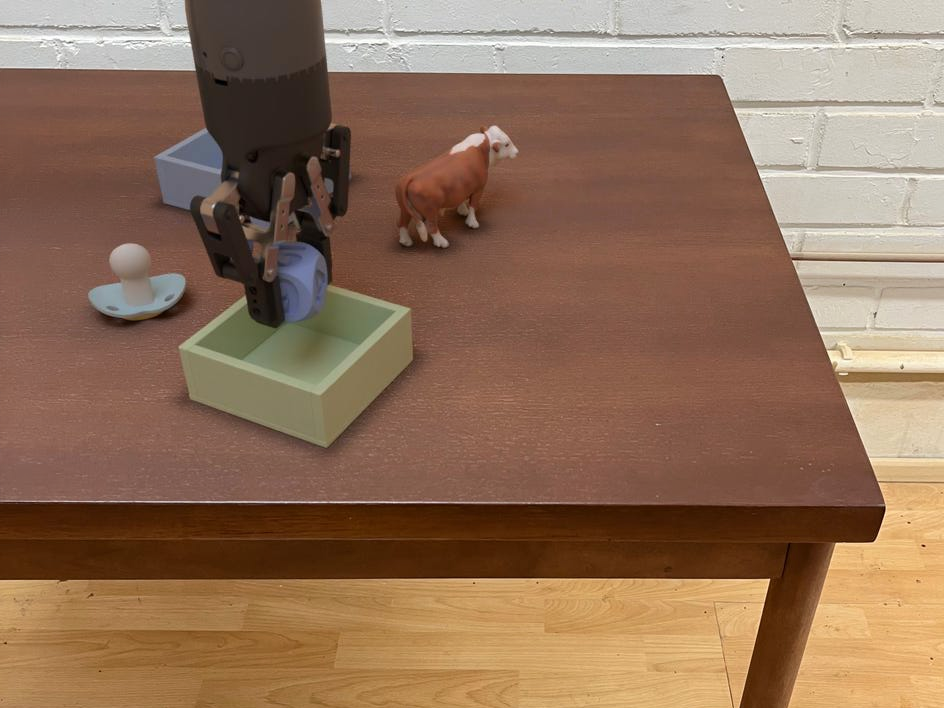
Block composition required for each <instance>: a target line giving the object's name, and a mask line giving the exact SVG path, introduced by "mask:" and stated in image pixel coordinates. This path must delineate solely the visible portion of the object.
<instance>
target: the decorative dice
mask: <svg viewBox="0 0 944 708" xmlns="http://www.w3.org/2000/svg"><path fill="white" fill-rule="evenodd" d="M256 258H258V259H261V251H260V252H259V254H258V255H257V256H256ZM276 276H279V280H280V287H281V294H282V302H283V309H284V316H285V322H301V321H305V320H308V319H311V318H313V317H315V316H316V315H317V314H319V313H320V312H321V311H322V309H323V307H324V304H325V300H326V294H327V266H326V261H325V259H324V257H323V256H322V254H321V253H320V252H319V251H318V250H316V249H315V248H314V247H312V246H311V245H309V244H306V243H302V242H297V241H296V240H295V241H294V240H290V241H288V240H286V242H285V243H284V244H282V245H280V246H279V252H278V263H277V273H276Z"/></svg>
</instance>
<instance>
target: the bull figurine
mask: <svg viewBox="0 0 944 708" xmlns="http://www.w3.org/2000/svg"><path fill="white" fill-rule="evenodd" d="M479 130H480V133H478V132H477V133H472V134H470V135H468V136H467V137H466V138H465V139H464V140H462V141H461V142H459V143H457V144H455V145H453V146H451V147H450V148H449V149H447V151H445V152H444V153H443V154H441V155H440V156H438V157H435V158H434V159H432V160H430V161H428V162H427V163H425V164H424V163H423V164H422V165H419V166H418V167H415V168H414V169H412V170H411V171H409V172H407V173H405V174H404V175H402V176H401V177H400V179H399V180H398V181H397V183H396V185H395V191H394V192H395V199H396V202H397V205H398V207H399V209H400V215H399V218H398V219H397V221H396V226H397V229H398V231H399V243H400V244H402V246H405V247H411V246H413V245H414V242H413V240H412V238H411V237H410V235H409V226H410V223H411V220H412V219H413V220H414V222H415V228H416V231H417V233H418V235H419V238H420V240H421V241H423V242H424V243H425V242H427V241H428V234H429V235H430V237H431V238H432V240H433V242H432V244H433V246H436V247H437V248H440V247H441V248H443V249H444V248H448V247H449V246H450V243H449V241H448V240H447V239H446V238H445V237H444V236H442V234H441V233H440V230H439V227H438V218H439V217H443V216H444V215H445V211H446V210H453V209H456V208H457V214H459V215H460V216H464V217H466V216H467V217H466V219H465V225H467V226H468V227H469V228H472V229H473V230H474V229H478V228H480V224H479V222H478V221H477V218H476V212H477V210H478V209H479V206H480V200H481V198H482V196H483V194H484V191H485V187H486V185H487V182H488V178H489V173H490V170H491V169H492V167H496V166H498V165H500V164H501V163H502V162H503V161H504V160H505V159H510V160H515V159H517V158H518V154H519V149H518V148H517V147H516V146H515V145H514V143H513V142H512V140H511V139H510V137H509V136H508V134H506V133H505V132H504V131H503V130H501V128H499V127H498V126H497V125H492V126H491V125H490V127H488V126H487V125H481V126H480V128H479ZM467 200H468V204H466V201H467ZM467 205H468V206H467Z"/></svg>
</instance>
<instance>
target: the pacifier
mask: <svg viewBox="0 0 944 708" xmlns="http://www.w3.org/2000/svg"><path fill="white" fill-rule="evenodd" d="M108 262H109V267H110V268H111V270H112V272H113V273H114V274H115V275H117V277H119V280H120V282H116V283H115V282H114V283H110V284H104V285H99V286H96V287H94V288H92V289H91V290H89V292H88V294H87V297H88V300H89V303H90V304H91V306H92V307H94V308H95V309H96V310H97V311H99V312H100V313H102V314H105V315H107V316H110V317H114V318H120V319H121V318H122V319H123V320H127V321H142V320H147V319H148V320H149V319H151V318H154V317H157V316H159V315H161V314H162V313H163V312H164V311H166V310H168V309H170V308H172V307H174V305H176V304H177V303H178V302H179V301H180V299H182V297H183V295H184V293H185V291H186V288H187V282H186V278H185V276H184V275H182V274H181V273H174V272H171V273H165V274H164V273H163V274H160V275H154V276H150V275H149V270H150V268H151V265H152V258H151V255H150V253H149V251H148V249H146V247H144V246H142V245H141V244H137V243H132V242H131V243H130V242H129V243H124V244H121V245H119V246H117V247H116V248H114V249H113V250H112V252H111V253H110V255H109V259H108Z"/></svg>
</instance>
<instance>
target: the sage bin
mask: <svg viewBox="0 0 944 708" xmlns="http://www.w3.org/2000/svg"><path fill="white" fill-rule="evenodd" d="M412 324H413V323H412V307H411V308H410V307H407V306H404V305H401V304H396V303H393V302H390V301H387V300H384V299H379V298H376V297H373V296H369V295H366V294H363V293H359V292H356V291H352V290H350V289H346V288H342V287H338V286H335V285H332V284H329V285H328V286H327V294H326V300H325V304H324V307H323V309H322V311H321V312H320V313H319V314H317V315H316V316H315V317H313V318H311V319H308V320H305V321H301V322H284V323H283V324H281V325H280V326H279V327H278V328H272V327H269V326H265V325H262V324H259V323H257V322H256V321H255V320H253V319H252V318H251V317H250V315H249V312H248V306H247V300H246V294H245V295H244V296H242V297H241V298H240V299H238V300H237V301H235V302H234V303H233V304H231V306H230V307H228V308H227V309H225V310H224V311H223V312H222V313H220V314H219V315H218V316H217V317H215V318H214V319H212V320H211V321H210V322H209V323H207V324H206V325H204V327H202V328H201V329H200V330H198V331H197V332H195V333H194V334H192V336H190V337H189V338H188V339H186V340H184V342H182V343H181V344H180V345H179V346H178V348H177V349H178V353H179V357H180V362H181V365H182V370H183V375H184V379H185V383H186V388H187V392H188V397H189V400H191V401H193V402H196V403H199V404H203V405H205V406H207V407H210V408H214V409H216V410H219V411H222V412H224V413H227V414H230V415H233V416H235V417H239V418H241V419H244V420H247V421H250V422H253V423H255V424H258V425H260V426H263V427H266V428H269V429H271V430H275V431H278V432H280V433H283V434H286V435H288V436H291V437H294V438H296V439H300V440H302V441H305V442H308V443H311V444H313V445H316V446H319V447H322V448H324V449H328V448H329V447H330V446H331V444H332V443H334V441H335V440H336V439H338V438H339V437H340V435H341V434H343V433H344V431H345V430H346V429H347V428H348V427H349V426H350V425H351V424H352V423H353V422H354V421H355V420H356V419H358V417H360V415H361V414H362V413H363V412H364V411H365V410H366V409H367V408H368V407H369V406H370V405H371V404H372V403H373V401H375V400H376V399H377V398H378V397H379V396H380V395H381V393H383V391H384V390H385V389H386V388H387V387H388V386H390V384H391V383H392V382H393V381H394V380H395V379H396V378H397V377H398V376H399V375H400V374H401V373H402V372H403V371H404V370H405V369H407V367H408V366H409V365H410V364H411V363H412V361H414V346H413V326H412Z"/></svg>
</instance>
